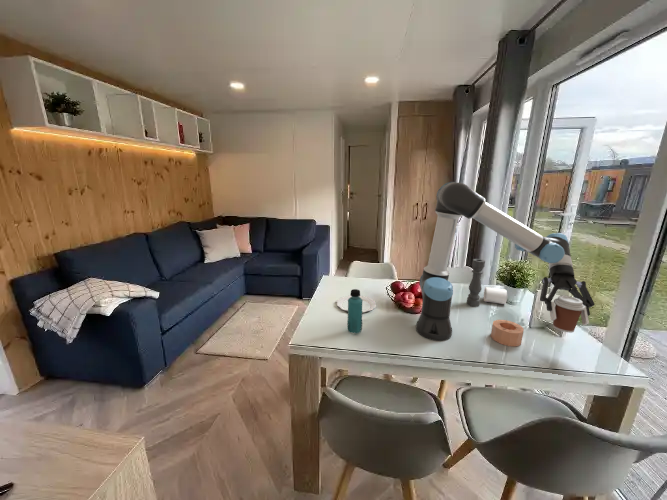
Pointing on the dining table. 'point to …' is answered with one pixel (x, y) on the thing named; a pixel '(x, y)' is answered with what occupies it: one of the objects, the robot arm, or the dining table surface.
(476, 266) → the candle holder
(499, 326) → the terracotta bowl
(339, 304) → the plate
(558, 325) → the coffee cup
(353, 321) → the beverage bottle
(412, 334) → the dining table surface
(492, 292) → the mug
